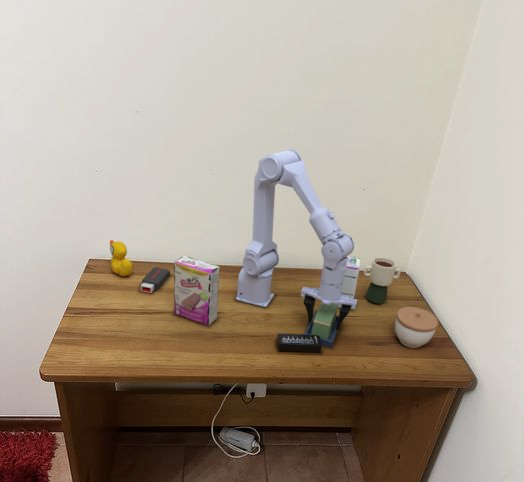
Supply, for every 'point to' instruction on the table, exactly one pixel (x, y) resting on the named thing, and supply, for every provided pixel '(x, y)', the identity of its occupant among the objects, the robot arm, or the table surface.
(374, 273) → the character mug
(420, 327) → the trinket box
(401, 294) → the table surface
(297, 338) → the multiport hub
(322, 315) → the green box
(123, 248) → the duckling
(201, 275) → the candy bar box
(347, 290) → the syrup box
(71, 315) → the table surface
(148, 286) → the usb drive
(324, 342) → the desk tray
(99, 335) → the table surface
